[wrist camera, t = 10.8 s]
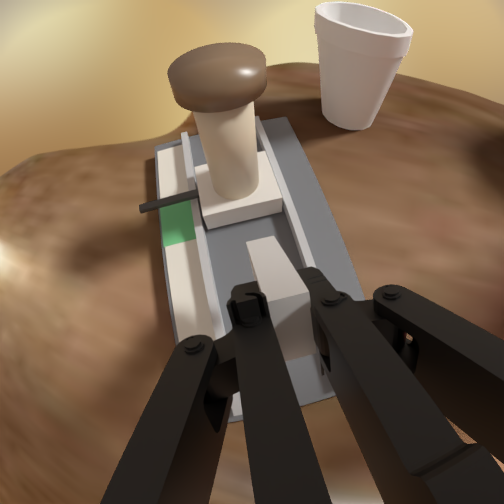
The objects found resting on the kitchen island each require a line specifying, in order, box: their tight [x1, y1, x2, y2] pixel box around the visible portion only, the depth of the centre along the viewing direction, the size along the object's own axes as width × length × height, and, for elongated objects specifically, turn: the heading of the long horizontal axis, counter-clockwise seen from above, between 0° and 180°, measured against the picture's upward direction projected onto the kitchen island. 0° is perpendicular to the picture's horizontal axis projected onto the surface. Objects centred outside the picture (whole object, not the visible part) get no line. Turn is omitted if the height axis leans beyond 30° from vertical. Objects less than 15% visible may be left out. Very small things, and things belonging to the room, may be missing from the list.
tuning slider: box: [139, 43, 282, 229], centre depth 19 cm, size 11×5×13 cm, turn 103°
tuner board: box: [155, 116, 365, 423], centre depth 24 cm, size 14×26×3 cm, turn 13°
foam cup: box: [314, 1, 413, 130], centre depth 25 cm, size 10×9×13 cm
